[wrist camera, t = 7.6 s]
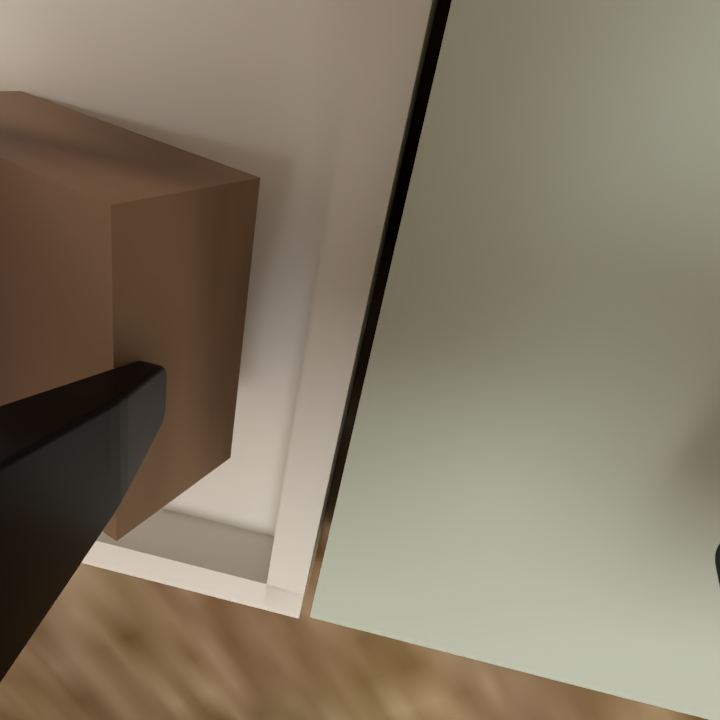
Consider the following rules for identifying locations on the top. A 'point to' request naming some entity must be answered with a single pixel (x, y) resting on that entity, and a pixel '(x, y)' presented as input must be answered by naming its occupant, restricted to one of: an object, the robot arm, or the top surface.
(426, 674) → the top surface
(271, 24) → the tray
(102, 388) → the robot arm
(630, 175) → the platform
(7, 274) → the walnut tile
